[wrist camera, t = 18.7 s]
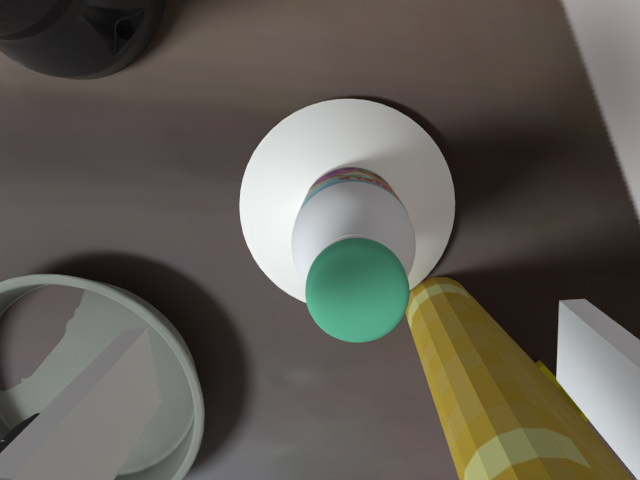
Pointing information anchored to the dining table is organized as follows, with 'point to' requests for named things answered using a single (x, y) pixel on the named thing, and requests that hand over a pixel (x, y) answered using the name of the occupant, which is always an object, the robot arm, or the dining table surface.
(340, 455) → the dining table surface
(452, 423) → the book
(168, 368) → the cake pan
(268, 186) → the white round plate
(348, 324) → the milk bottle
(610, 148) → the dining table surface
